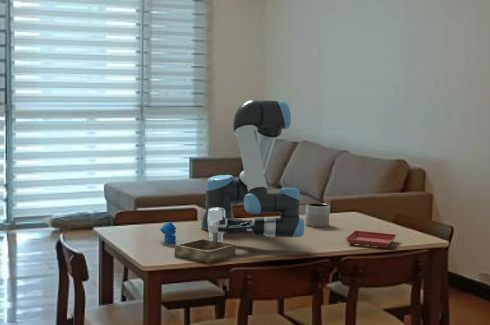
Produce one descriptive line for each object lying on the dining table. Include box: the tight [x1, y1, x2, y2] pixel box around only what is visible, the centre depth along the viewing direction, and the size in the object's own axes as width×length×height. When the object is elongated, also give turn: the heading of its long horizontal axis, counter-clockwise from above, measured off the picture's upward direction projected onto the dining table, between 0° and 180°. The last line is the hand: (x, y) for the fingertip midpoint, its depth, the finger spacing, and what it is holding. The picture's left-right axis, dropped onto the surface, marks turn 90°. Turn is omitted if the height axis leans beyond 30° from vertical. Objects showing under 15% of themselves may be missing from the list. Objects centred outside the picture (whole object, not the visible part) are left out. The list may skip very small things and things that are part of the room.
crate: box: [174, 238, 236, 264], centre depth 282 cm, size 16×16×4 cm
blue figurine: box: [159, 221, 177, 244], centre depth 304 cm, size 7×8×11 cm
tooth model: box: [208, 207, 225, 243], centre depth 297 cm, size 7×7×15 cm
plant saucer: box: [345, 230, 397, 249], centre depth 313 cm, size 18×18×3 cm
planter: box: [305, 202, 331, 228], centre depth 349 cm, size 11×11×10 cm
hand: (210, 225), depth 297 cm, fingers open, 13 cm apart
